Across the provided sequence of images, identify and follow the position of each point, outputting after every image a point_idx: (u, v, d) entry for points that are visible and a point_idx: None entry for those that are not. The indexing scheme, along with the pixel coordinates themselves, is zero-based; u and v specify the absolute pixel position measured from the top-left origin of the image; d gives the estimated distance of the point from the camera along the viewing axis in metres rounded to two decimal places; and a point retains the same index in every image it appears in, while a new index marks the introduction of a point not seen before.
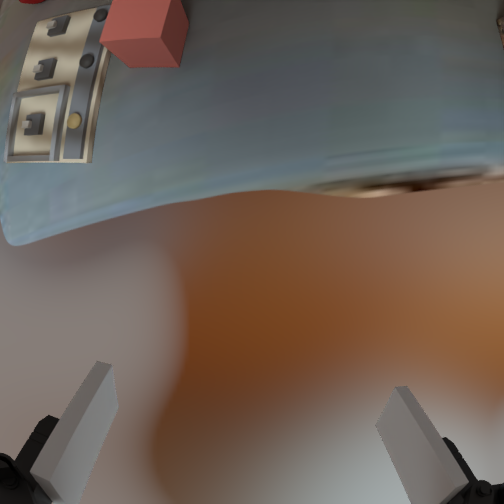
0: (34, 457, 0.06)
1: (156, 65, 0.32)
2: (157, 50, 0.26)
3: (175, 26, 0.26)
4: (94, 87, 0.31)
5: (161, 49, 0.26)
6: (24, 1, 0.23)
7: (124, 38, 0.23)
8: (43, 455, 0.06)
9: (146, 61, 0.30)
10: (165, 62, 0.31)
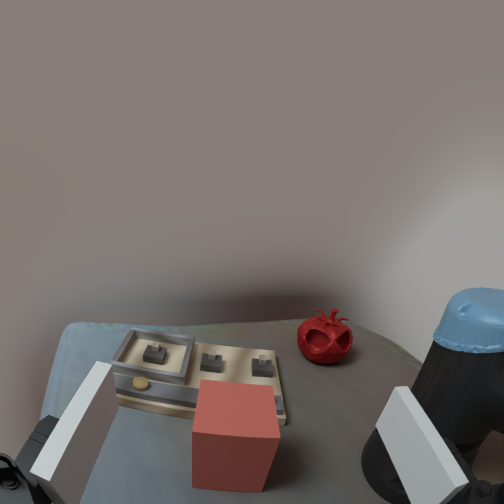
0: (34, 457, 0.06)
1: None
2: None
3: (231, 462, 0.22)
4: (176, 405, 0.33)
5: None
6: (298, 329, 0.51)
7: (198, 399, 0.24)
8: (43, 455, 0.06)
9: None
10: None
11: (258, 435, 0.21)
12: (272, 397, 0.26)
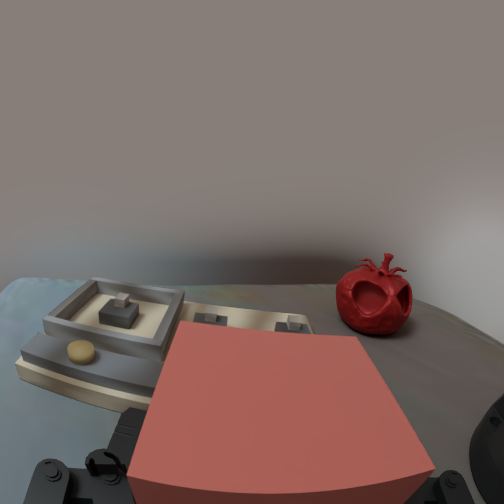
0: (125, 449, 0.08)
1: None
2: None
3: None
4: (140, 395, 0.17)
5: None
6: (337, 285, 0.35)
7: (167, 366, 0.08)
8: None
9: None
10: None
11: (373, 477, 0.05)
12: (367, 361, 0.10)
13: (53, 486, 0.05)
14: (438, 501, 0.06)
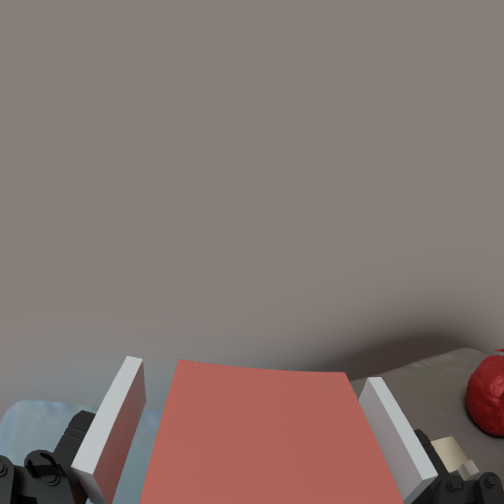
0: (71, 452, 0.07)
1: None
2: None
3: None
4: None
5: None
6: (477, 387, 0.21)
7: (168, 409, 0.09)
8: (83, 449, 0.07)
9: None
10: None
11: None
12: (352, 399, 0.10)
13: (1, 481, 0.04)
14: (478, 501, 0.05)
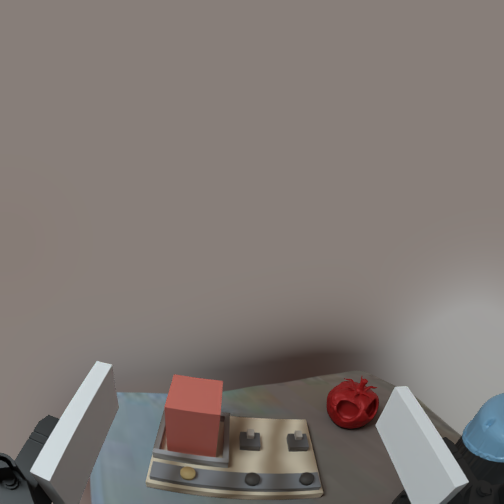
0: (34, 457, 0.06)
1: None
2: None
3: (191, 431, 0.34)
4: (223, 490, 0.30)
5: None
6: (328, 397, 0.49)
7: (171, 387, 0.37)
8: (43, 455, 0.06)
9: None
10: None
11: (206, 412, 0.33)
12: (220, 388, 0.38)
13: None
14: None
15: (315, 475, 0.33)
